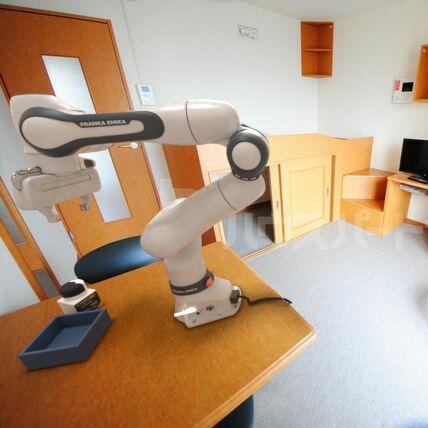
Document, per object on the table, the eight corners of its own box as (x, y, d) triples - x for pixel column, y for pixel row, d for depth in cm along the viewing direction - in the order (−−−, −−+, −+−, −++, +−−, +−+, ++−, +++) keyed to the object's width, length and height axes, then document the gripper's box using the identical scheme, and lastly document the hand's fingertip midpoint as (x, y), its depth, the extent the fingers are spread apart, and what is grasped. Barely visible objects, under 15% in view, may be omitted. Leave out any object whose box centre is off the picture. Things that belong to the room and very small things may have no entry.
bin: (112, 321, 80) (105, 308, 77) (86, 360, 68) (77, 346, 65) (64, 328, 77) (55, 315, 75) (28, 370, 65) (16, 356, 63)
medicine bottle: (82, 320, 80) (66, 293, 75) (65, 316, 81) (49, 289, 76) (103, 304, 86) (90, 278, 81) (87, 301, 88) (74, 275, 82)
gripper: (25, 171, 51) (46, 230, 55) (99, 160, 70) (111, 204, 75) (-9, 170, 50) (16, 230, 55) (76, 159, 69) (89, 204, 74)
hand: (71, 215), depth 65 cm, fingers open, 8 cm apart
